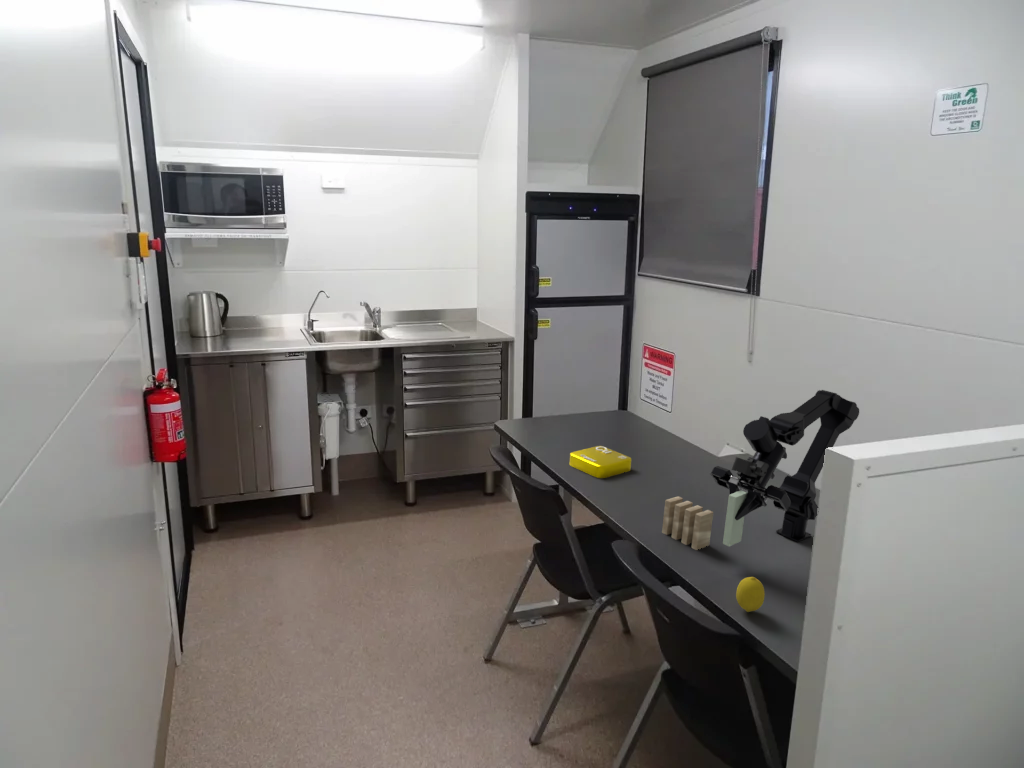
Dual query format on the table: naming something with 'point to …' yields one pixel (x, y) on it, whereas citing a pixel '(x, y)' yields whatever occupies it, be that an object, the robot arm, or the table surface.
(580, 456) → the element tile
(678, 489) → the table surface
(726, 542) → the head tile
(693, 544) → the tile
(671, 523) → the tile
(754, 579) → the lemon
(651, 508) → the table surface
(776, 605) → the table surface
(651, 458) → the table surface
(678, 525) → the tile
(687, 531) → the tile
